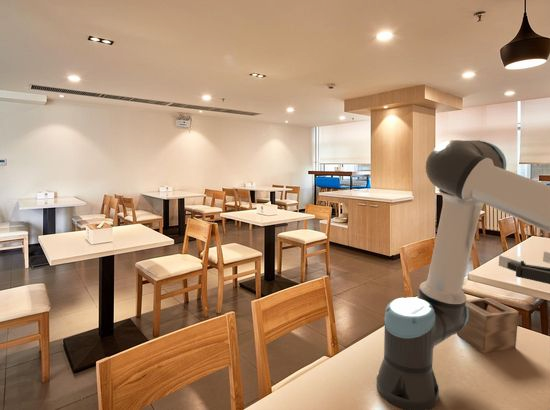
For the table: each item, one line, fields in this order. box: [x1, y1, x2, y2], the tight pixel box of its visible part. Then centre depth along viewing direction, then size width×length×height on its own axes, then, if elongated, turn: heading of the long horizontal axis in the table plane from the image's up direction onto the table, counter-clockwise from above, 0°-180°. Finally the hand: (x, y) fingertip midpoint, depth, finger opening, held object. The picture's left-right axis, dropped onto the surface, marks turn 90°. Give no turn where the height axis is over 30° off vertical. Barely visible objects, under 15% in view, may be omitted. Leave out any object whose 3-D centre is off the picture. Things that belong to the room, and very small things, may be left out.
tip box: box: [456, 297, 519, 353], centre depth 107 cm, size 12×11×12 cm
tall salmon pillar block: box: [486, 305, 502, 313], centre depth 107 cm, size 3×5×10 cm, turn 9°
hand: (522, 258), depth 85 cm, fingers open, 13 cm apart
